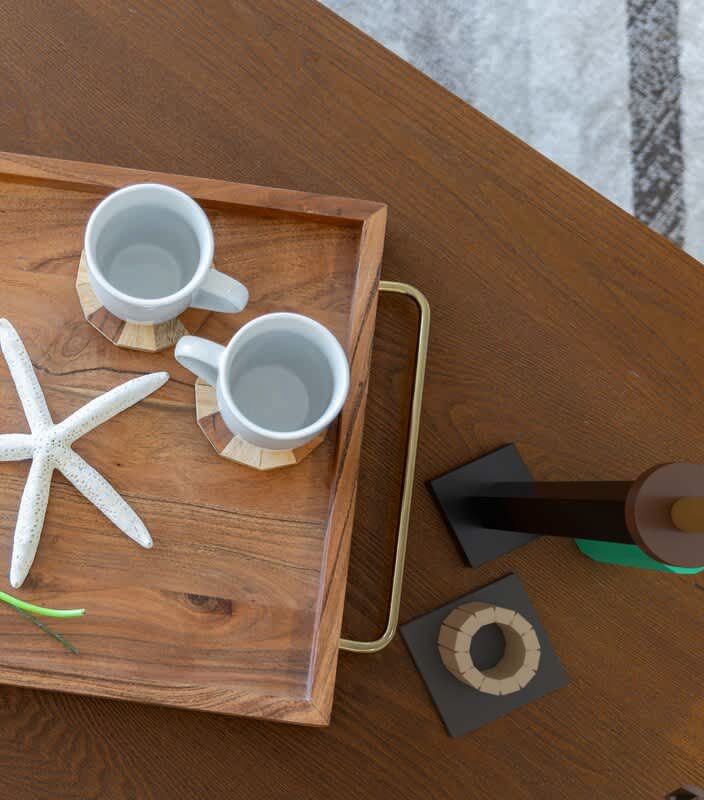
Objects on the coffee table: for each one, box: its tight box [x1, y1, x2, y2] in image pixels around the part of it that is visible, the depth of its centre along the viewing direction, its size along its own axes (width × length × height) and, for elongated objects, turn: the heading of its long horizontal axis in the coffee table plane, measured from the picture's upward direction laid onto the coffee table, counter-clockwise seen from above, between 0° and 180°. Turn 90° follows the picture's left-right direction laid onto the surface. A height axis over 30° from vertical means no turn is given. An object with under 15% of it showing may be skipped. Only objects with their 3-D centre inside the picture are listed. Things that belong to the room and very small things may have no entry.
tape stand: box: [423, 442, 704, 570], centre depth 60 cm, size 8×8×31 cm
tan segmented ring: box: [438, 601, 540, 695], centre depth 72 cm, size 7×7×4 cm
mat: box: [397, 571, 571, 740], centre depth 74 cm, size 10×11×1 cm
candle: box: [573, 538, 704, 575], centre depth 69 cm, size 6×6×12 cm
